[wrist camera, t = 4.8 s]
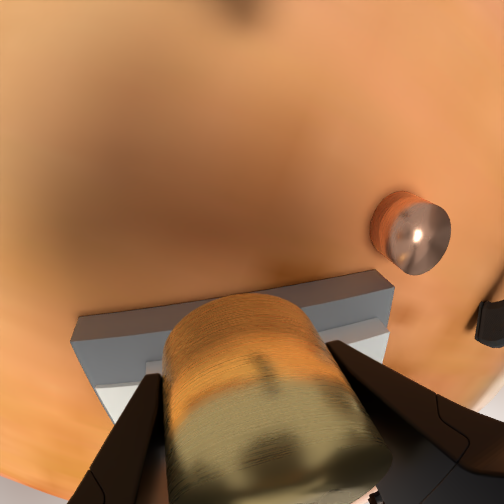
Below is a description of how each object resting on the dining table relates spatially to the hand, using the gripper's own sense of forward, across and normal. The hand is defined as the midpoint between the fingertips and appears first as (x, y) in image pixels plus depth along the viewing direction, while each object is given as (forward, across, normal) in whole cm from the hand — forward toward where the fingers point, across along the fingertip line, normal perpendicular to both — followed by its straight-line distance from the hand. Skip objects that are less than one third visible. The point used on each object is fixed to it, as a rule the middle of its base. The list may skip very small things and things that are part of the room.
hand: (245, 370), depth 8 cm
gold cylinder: (0, 0, 0) cm, 1 cm away
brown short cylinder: (+10, -12, +1) cm, 16 cm away
